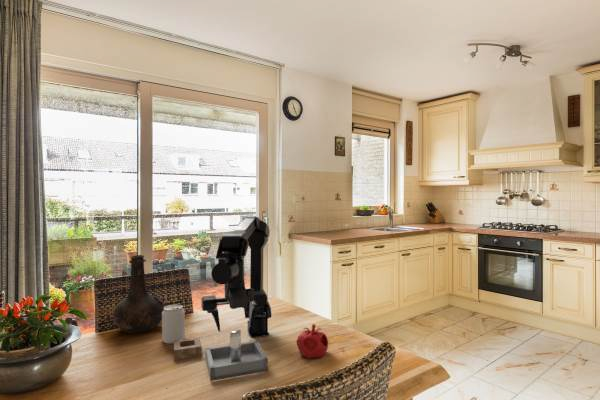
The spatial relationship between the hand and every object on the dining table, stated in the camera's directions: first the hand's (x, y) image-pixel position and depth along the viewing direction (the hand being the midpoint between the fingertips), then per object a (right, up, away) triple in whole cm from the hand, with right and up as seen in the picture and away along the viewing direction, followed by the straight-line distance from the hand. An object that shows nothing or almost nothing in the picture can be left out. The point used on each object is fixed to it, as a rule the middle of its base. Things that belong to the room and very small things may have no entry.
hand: (235, 329), depth 108 cm
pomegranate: (+23, -11, +7) cm, 26 cm away
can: (-25, -11, +19) cm, 33 cm away
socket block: (-16, -11, +8) cm, 21 cm away
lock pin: (0, -10, 0) cm, 10 cm away
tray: (0, -11, 0) cm, 11 cm away
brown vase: (-42, -11, +31) cm, 53 cm away
